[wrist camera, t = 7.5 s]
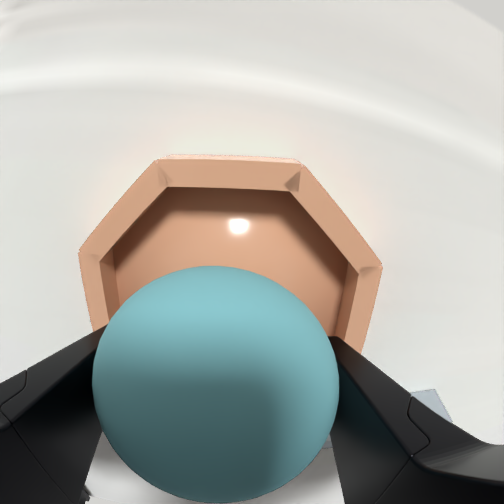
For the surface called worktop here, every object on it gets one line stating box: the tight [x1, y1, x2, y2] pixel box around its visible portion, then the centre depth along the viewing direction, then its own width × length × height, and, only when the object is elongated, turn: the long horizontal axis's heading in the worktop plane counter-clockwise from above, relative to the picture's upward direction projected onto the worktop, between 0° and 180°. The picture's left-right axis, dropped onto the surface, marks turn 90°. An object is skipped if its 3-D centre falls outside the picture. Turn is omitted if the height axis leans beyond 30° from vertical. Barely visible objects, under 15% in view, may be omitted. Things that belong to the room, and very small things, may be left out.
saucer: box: [78, 155, 383, 354], centre depth 11 cm, size 10×10×2 cm
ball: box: [92, 266, 339, 503], centre depth 7 cm, size 6×6×6 cm
